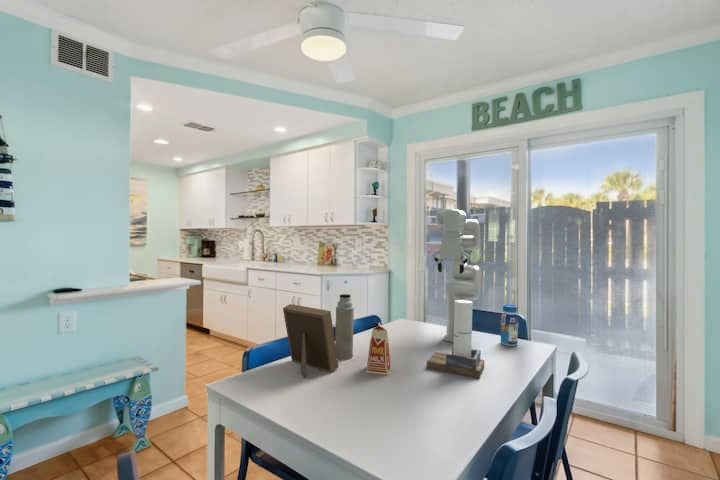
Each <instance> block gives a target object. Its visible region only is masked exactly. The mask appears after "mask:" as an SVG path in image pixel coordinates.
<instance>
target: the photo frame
mask: <svg viewBox="0 0 720 480" xmlns="http://www.w3.org/2000/svg"><path fill="white" fill-rule="evenodd" d="M282 310H283V311H282V312H283V316H284V317H283V318H284V322H285V323H284V324H285V329H286V334H287V342H288V347H289V352H290V357H291V362H292V363H296V364H299V365H301V366H300V375H301V376H302V378H303V379H305V378H306V373H307V367H309V368H313V369H315V370H316V369H317V370H320V371H323V372H325V373H330V374H332V373H334V372H335V371H336V370H338V368H339V362H338V359H337V354H336V347H335V335H334V334H335V331H334V326H333V325H334V324H333V319H332V311H331V310H325V309H323V308H321V309H320V308H315V307H309V306H303V305H297V304H292V303H290V304H287V305H286V306H284V307H283V308H282Z"/></svg>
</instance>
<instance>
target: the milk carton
mask: <svg viewBox="0 0 720 480" xmlns="http://www.w3.org/2000/svg"><path fill="white" fill-rule="evenodd" d="M388 336H389V335H388V330H387V328H385V327H384V326H383V325H382V324H381V322H378V323H377V326H375V327H374V328H372V331H371V336H370V340H369V345H368V347H369V348H368V358H367V364H366V370H365V373H367V374H375V375H383V376H389V374H390V371H391V369H392V368H391V367H392V366H391V354H390V345H389V343H390V342H389V337H388Z"/></svg>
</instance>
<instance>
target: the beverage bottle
mask: <svg viewBox="0 0 720 480" xmlns="http://www.w3.org/2000/svg"><path fill="white" fill-rule="evenodd" d="M502 312H503V313H502V314H501V316H500V317H501V318H500V319H501V321H500V344H502V345H504V346H511V347H516V346H517V345H518V333H519V322H518V321H519V317H518V315H517V314H516V313H517V312H518V307H517V305H516V304H515V305H514V304H502Z"/></svg>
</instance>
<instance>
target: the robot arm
mask: <svg viewBox="0 0 720 480" xmlns="http://www.w3.org/2000/svg"><path fill="white" fill-rule="evenodd" d="M435 221H436V223H437V226H438V227H439V228H440V229H442V230H443V231H442V232H443V233H442V235H443V236H442V238H441V239H440V240H441V242H440V246H439V250H438V251H436V252H434V253H433V254H432V257H433V260H434V261H435V262H436V263H437V271H438V273H442V271H443V263H442V262H443V261H452V262H451V268H450V278H451V280H450V281H448V282H447V283H446V284H445V293H446V294H445V295H446V334H445V335H444V336H443V337H442V339H443V340H444V341H446V342H448V343H453V344H454V309H455V300H468V301H476V300H478V299H479V298H480V296H481V286H482V285H481V283H482V270H481V268H480V266H478V265H475V264H474V265H473V264H469V263H468V262H469V260H470V258H471V255H470V254H468V253H467V252H464V251H478V250H480V248H481V243H482V241H481V227H480V226H481V225H480V222H479V220H478V219H475V218H467V214H466V212H465V211H464V210H460V209H455V208H451V209H446V210H444V209H443V210H439V211H437V212H436V217H435ZM438 255H439V258H438V257H437V256H438Z"/></svg>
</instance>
